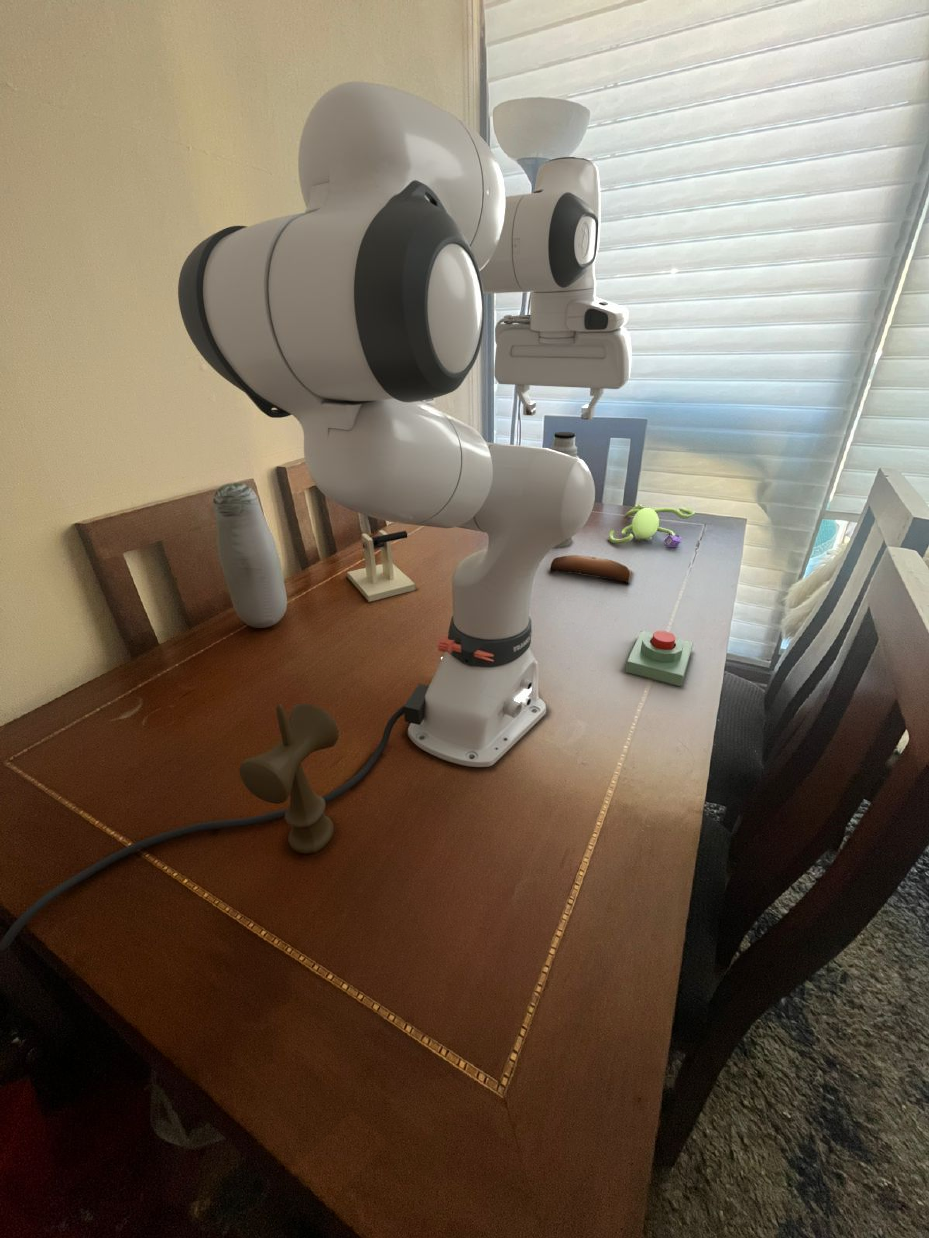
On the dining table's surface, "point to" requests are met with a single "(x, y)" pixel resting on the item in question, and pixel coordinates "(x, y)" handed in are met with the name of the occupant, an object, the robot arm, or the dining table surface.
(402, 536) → the switch lever
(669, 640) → the stop button
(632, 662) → the stop box
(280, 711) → the kendama
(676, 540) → the figurine
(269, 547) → the grey bottle
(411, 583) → the switch bracket
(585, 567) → the sunglasses case
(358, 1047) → the dining table surface
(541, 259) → the robot arm
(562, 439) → the thermos bottle
